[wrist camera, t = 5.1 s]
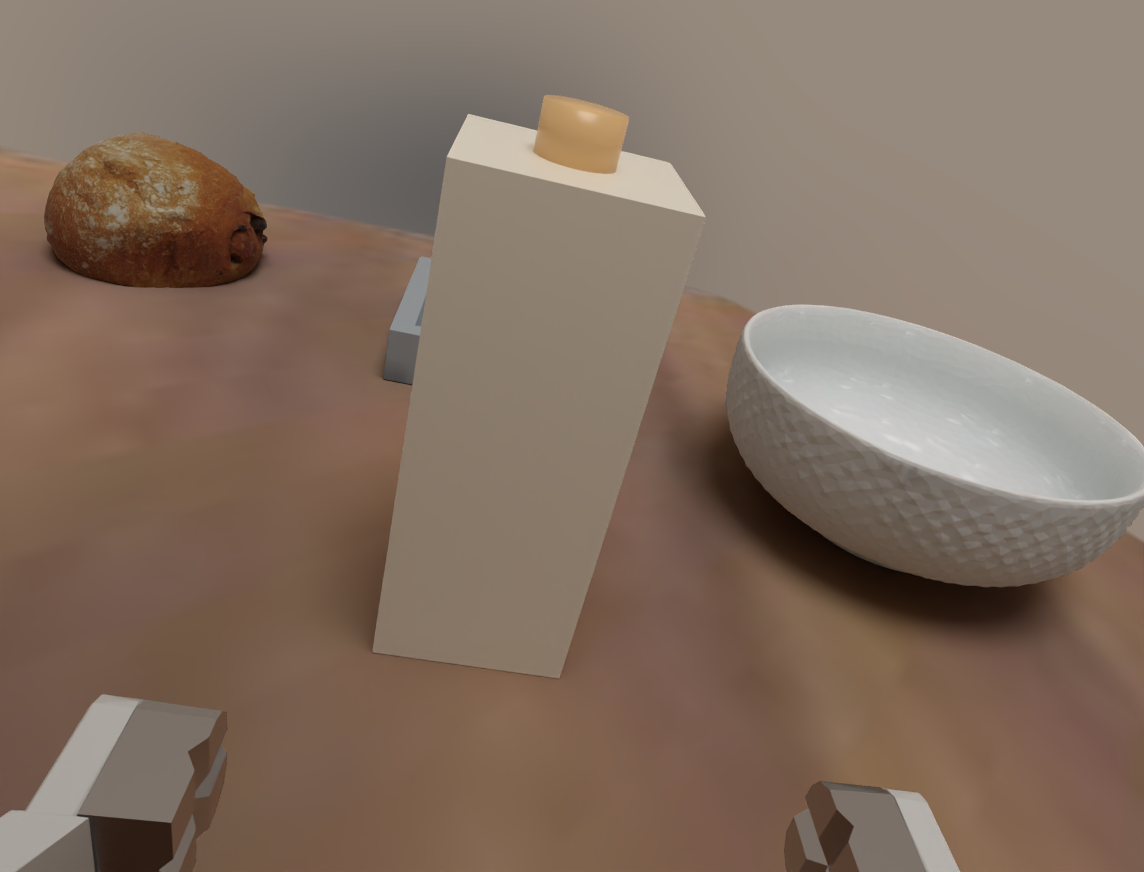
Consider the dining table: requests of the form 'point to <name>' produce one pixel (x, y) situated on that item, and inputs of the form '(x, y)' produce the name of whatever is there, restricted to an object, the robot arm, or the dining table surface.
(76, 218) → the bread roll
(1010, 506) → the cereal bowl
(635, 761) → the dining table surface
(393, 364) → the tray
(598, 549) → the juice box
